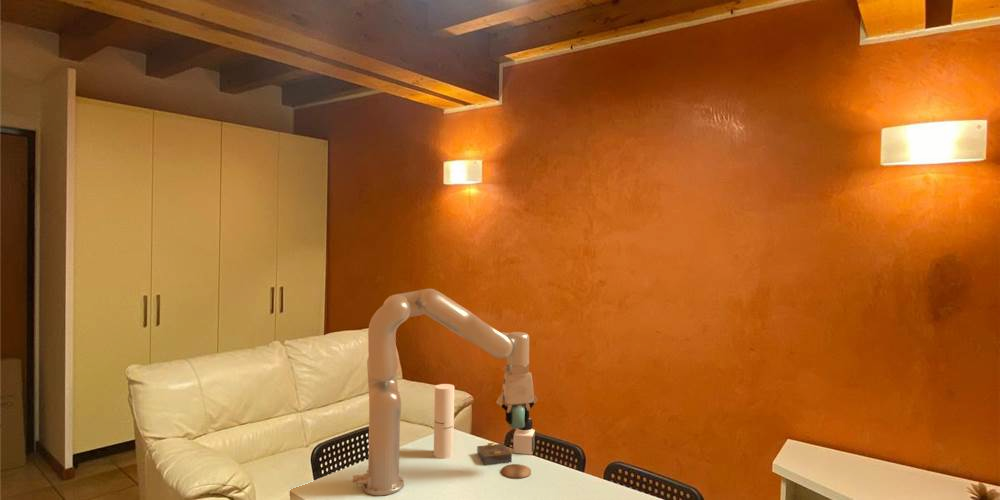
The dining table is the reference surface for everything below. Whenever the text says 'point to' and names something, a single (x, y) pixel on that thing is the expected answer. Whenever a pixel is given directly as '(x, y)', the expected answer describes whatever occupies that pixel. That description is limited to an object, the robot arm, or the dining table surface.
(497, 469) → the dining table surface
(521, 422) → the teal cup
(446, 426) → the cylindrical container
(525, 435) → the medicine bottle
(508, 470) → the coaster
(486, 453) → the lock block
